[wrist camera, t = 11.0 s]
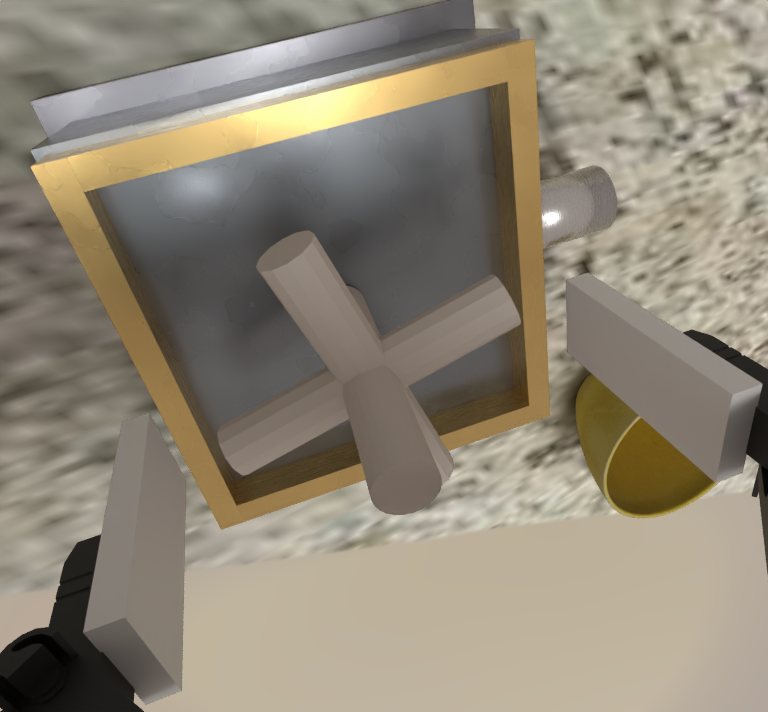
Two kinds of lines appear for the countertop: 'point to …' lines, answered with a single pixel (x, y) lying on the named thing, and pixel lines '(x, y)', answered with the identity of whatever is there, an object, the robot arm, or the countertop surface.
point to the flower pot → (633, 457)
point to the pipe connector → (364, 375)
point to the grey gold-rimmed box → (316, 223)
